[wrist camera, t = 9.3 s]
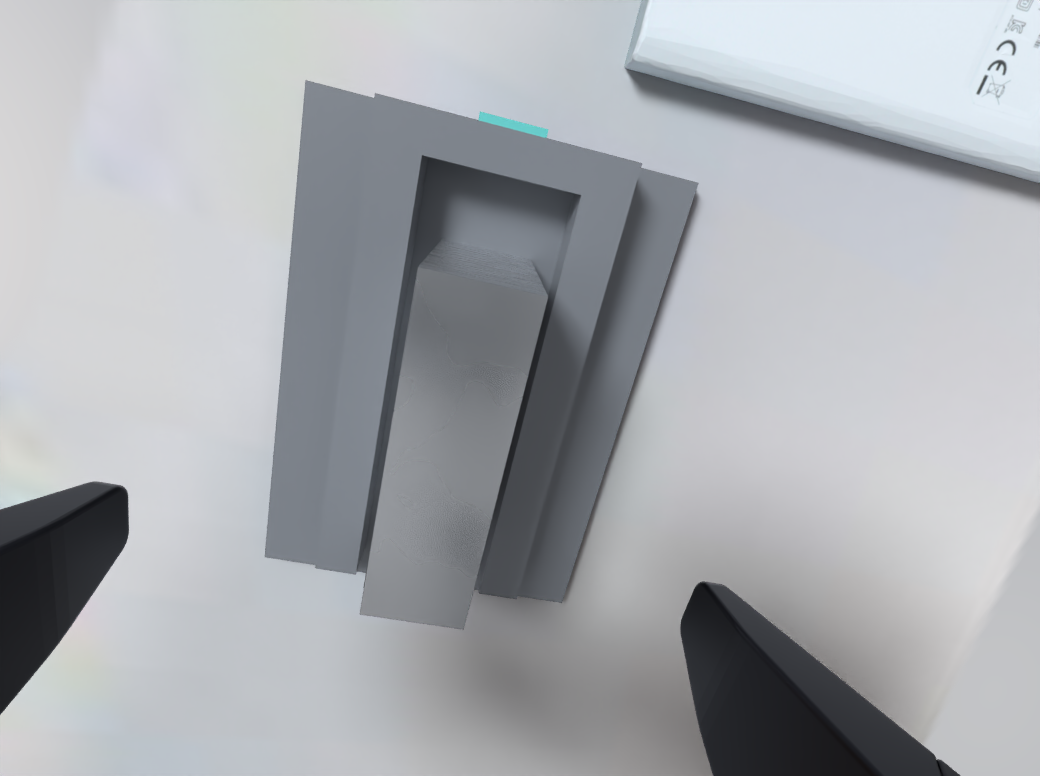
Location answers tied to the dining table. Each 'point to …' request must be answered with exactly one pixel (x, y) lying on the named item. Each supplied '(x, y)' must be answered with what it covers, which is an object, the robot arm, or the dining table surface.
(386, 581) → the block
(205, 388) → the dining table surface
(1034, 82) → the external hard drive
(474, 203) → the dock
